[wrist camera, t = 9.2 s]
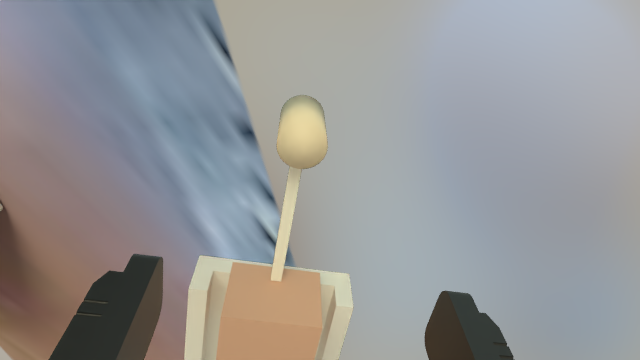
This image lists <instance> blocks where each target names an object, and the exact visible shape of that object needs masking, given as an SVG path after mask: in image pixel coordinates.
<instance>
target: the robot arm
mask: <svg viewBox="0 0 640 360" xmlns="http://www.w3.org/2000/svg"><path fill="white" fill-rule="evenodd" d="M162 293H163V258H162V257H157V256H148V255H139V254H134V255H132V257H131V259H130V261H129V263H128V264H127V266H126V268H125V270H124V272H116V271H108V272H107V273H106V274H105V275H103V276H102V277H101V278H100V279H98V280H97V281H96V282H94V283H93V285H92V286H91V288H90V290H89V292H88V293H87V295H86V297H85V298H84V302H82V304H81V305H80V307H79V309H78V310H77V313H76V315H75V316H74V317H73V319H72V321H71V322H70V324H69V326H68V327H67V329H66V331H65V333H64V334H63V336H62V338H61V339H60V341H59V343H58V345H57V346H56V348H55V350H54V351H53V353H52V355H51V356H50V358H49V360H144V358H145V355H146V352H147V350H148V347H149V344H150V342H151V339H152V336H153V333H154V331H155V328H156V325H157V322H158V319H159V316H160V311H161V306H162ZM425 347H426V351H427V355H428V358H429V360H513V355H512V353H511V351H510V349H509V347H507V343H506V341H505V339H504V337H503V335H502V333H501V331H500V329H499V327H498V326H497V325H496V324H495V323H494V322H493V321H492V320H491V319H490V317H489V316H488V315H487V314H486V313H479V311H478V309H477V307H476V305H475V303H474V300H473V298H472V297H471V295H470V294H468V293H460V292H451V291H442V292H441V294H440V295H439V298H438V300H437V302H436V305H435V307H434V310H433V312H432V315H431V317H430V319H429V322H428V324H427V327H426V331H425Z"/></svg>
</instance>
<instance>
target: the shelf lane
mask: <svg viewBox="0 0 640 360" xmlns="http://www.w3.org/2000/svg"><path fill="white" fill-rule="evenodd" d="M233 262H237V263H245V264H253V265H261V266H269V267H272V266H273V264H266V263H258V262H250V261H242V260H234V259H226V258H218V257H210V256H202V255H200V256H199V259H198V262H197V265H196V268H195V271H194V274H193V277H192V280H191V283H190V286H189V292H188V308H187V324H186V340H185V356H184V360H216V355H217V346H218V337H219V328H220V318H221V313H222V308H223V304H224V299H225V295H226V290H227V286H228V281H229V277H230V272H231V268H232V263H233ZM284 268H285V269H293V270H301V271H309V272H317V273H320V286H321V308H322V332H321V335H320V339H319V343H318V347H317V351H316V355H315V359H314V360H339V356H340V353H341V349H342V346H343V342H344V339H345V336H346V332H347V329H348V325H349V322H350V318H351V315H352V312H353V308H354V307H353V299H352V292H351V284H350V277H349V274H346V273H338V272H330V271H321V270H314V269H306V268H298V267H290V266H284Z"/></svg>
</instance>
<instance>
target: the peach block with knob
mask: <svg viewBox="0 0 640 360" xmlns="http://www.w3.org/2000/svg"><path fill="white" fill-rule="evenodd" d="M327 148H328V144H327V135H326V126H325V117H324V111H323V108H322V106H321V104H320V103H319V102H318V101H317V100H316V99H314V98H312V97H310V96H306V95H299V96H295V97H293V98H291V99H289V100H288V101H287V102H286V103H285V104H284V105H283V107H282V110H281V115H280V122H279V130H278V137H277V152H278V154H279V156H280V158H281V159H282V160H283V162H285V163H286V164H287V165H289V172H288V178H287V184H286V190H285V196H284V201H283V208H282V213H281V219H280V225H279V231H278V237H277V242H276V248H275V254H274V260H273V266H272V267H269V266H261V265H253V264H245V263H237V262H233V263H232V268H231V272H230V277H229V281H228V286H227V290H226V295H225V299H224V304H223V308H222V313H221V318H220V328H219V337H218V346H217V355H216V360H314V359H315V355H316V351H317V347H318V343H319V339H320V335H321V332H322V308H321V286H320V273H317V272H309V271H301V270H293V269H285V268H284V263H285V258H286V253H287V247H288V242H289V236H290V231H291V225H292V220H293V215H294V209H295V204H296V199H297V193H298V188H299V182H300V177H301V172H302V169H307V168H311V167H314V166H316V165H317V164H319V163H320V162H321V161H322V160H323V158H324V157H325V155H326V153H327Z"/></svg>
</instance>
